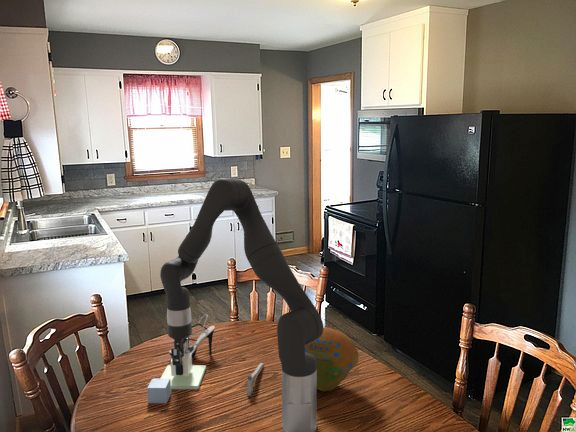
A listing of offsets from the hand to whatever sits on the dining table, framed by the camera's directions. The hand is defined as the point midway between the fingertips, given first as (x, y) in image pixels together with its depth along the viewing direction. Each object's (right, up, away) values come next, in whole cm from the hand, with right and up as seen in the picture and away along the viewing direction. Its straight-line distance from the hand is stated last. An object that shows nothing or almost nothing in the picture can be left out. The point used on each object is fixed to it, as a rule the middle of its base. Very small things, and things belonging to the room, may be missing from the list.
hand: (181, 369), depth 157 cm
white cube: (0, -1, 0) cm, 1 cm away
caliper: (+24, -3, 0) cm, 24 cm away
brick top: (-4, -5, -11) cm, 13 cm away
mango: (+46, -4, -5) cm, 46 cm away
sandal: (0, 0, +16) cm, 16 cm away
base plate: (0, -3, 0) cm, 3 cm away
